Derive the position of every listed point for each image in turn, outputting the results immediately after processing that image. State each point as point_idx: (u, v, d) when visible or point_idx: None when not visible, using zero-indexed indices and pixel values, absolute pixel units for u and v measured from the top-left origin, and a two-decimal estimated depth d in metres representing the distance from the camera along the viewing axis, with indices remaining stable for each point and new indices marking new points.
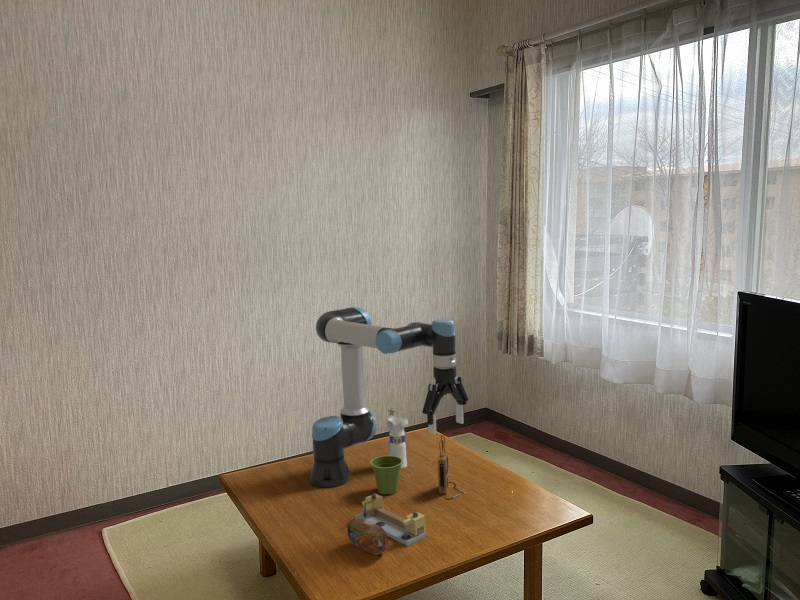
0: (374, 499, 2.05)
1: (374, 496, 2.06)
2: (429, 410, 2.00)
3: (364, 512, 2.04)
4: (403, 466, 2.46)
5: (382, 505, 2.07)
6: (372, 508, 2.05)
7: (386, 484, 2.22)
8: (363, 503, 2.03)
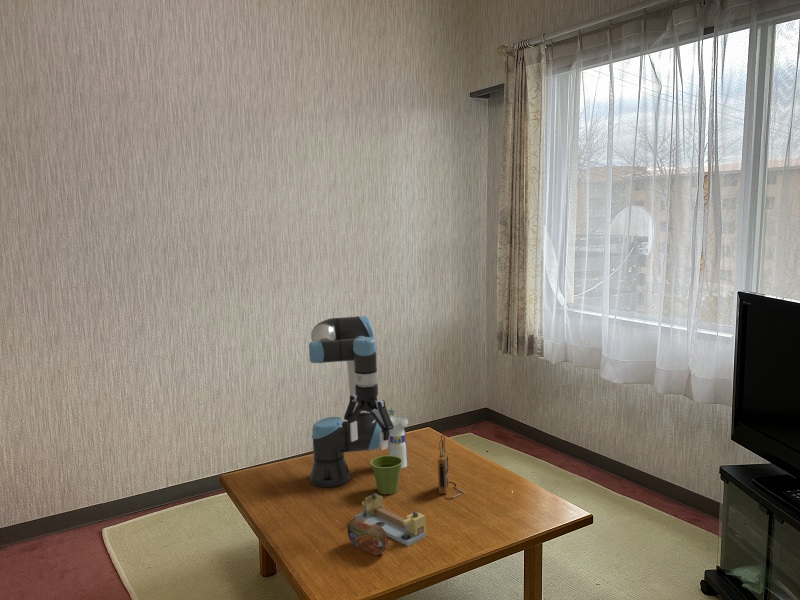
0: (374, 499, 2.05)
1: (374, 496, 2.06)
2: (345, 416, 2.14)
3: (364, 512, 2.04)
4: (403, 466, 2.46)
5: (382, 505, 2.07)
6: (372, 508, 2.05)
7: (386, 484, 2.22)
8: (363, 503, 2.03)
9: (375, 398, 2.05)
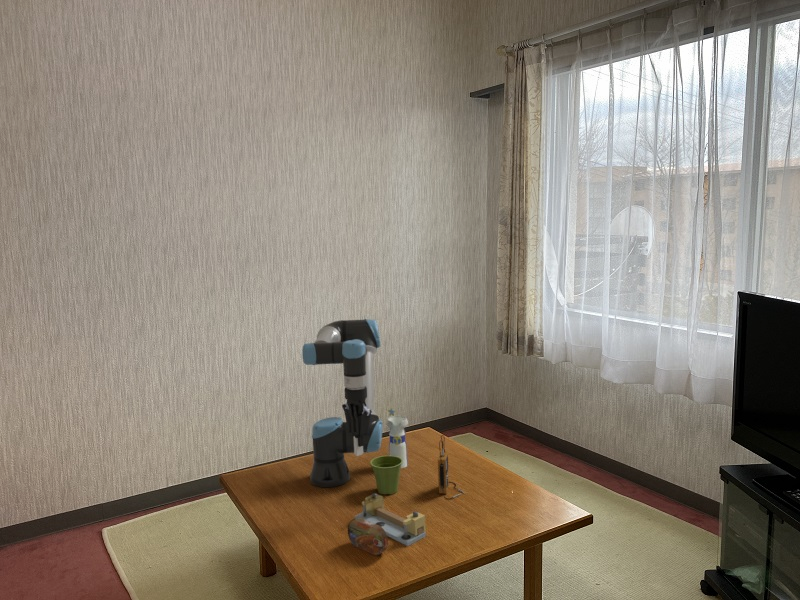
0: (374, 499, 2.05)
1: (374, 496, 2.06)
2: (348, 428, 2.10)
3: (364, 512, 2.04)
4: (403, 466, 2.46)
5: (382, 505, 2.07)
6: (372, 508, 2.05)
7: (386, 484, 2.22)
8: (363, 503, 2.03)
9: (363, 401, 2.05)
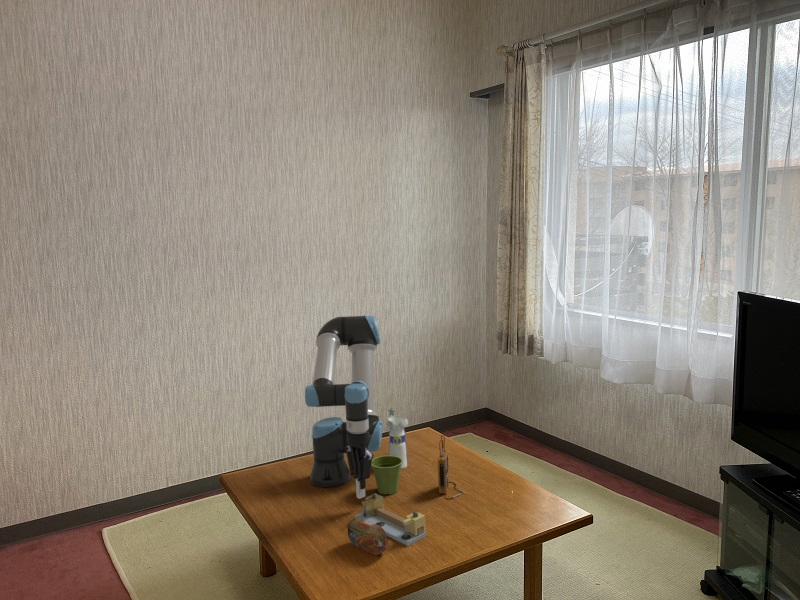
0: (374, 499, 2.05)
1: (374, 496, 2.06)
2: (350, 471, 2.12)
3: (364, 512, 2.04)
4: (403, 466, 2.46)
5: (382, 505, 2.07)
6: (372, 508, 2.05)
7: (386, 484, 2.22)
8: (363, 503, 2.03)
9: (365, 445, 2.07)
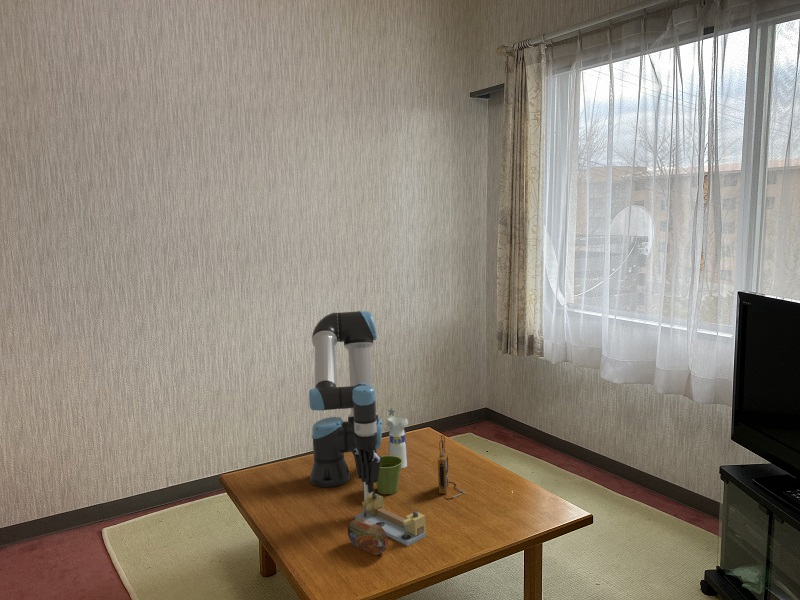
0: (374, 499, 2.05)
1: (374, 496, 2.06)
2: (358, 474, 2.09)
3: (364, 512, 2.04)
4: (403, 466, 2.46)
5: (382, 505, 2.07)
6: (372, 508, 2.04)
7: (386, 484, 2.22)
8: (363, 503, 2.03)
9: (373, 448, 2.04)
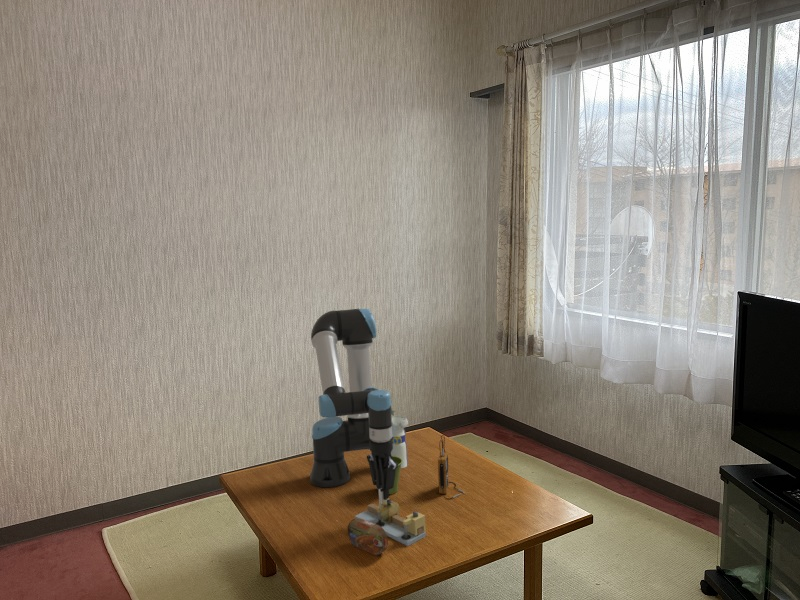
0: (389, 506, 2.00)
1: (389, 503, 2.01)
2: (373, 480, 2.04)
3: (379, 519, 1.98)
4: (403, 466, 2.46)
5: (397, 512, 2.02)
6: (387, 515, 1.99)
7: None
8: (378, 510, 1.98)
9: (389, 454, 1.98)
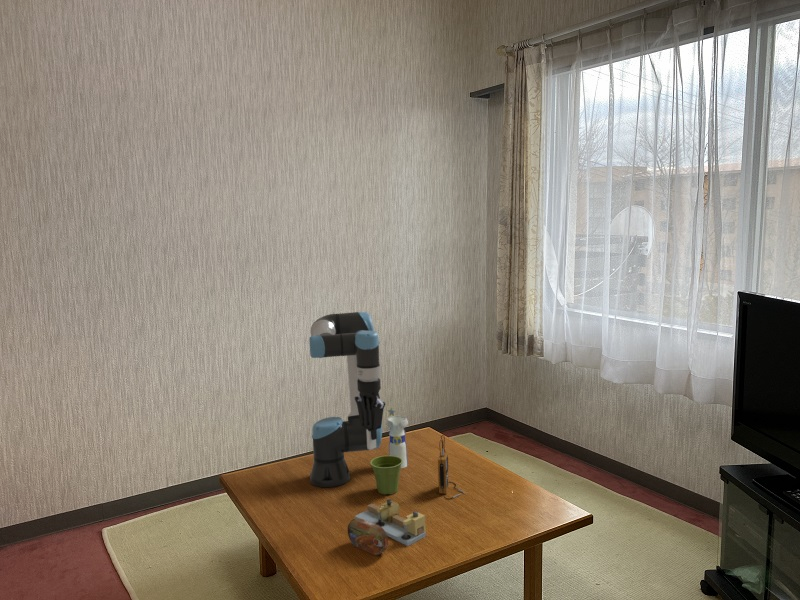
0: (389, 506, 2.00)
1: (389, 503, 2.01)
2: (361, 421, 2.05)
3: (379, 519, 1.98)
4: (403, 466, 2.46)
5: (397, 512, 2.02)
6: (387, 515, 1.99)
7: (386, 484, 2.22)
8: (378, 510, 1.98)
9: (377, 393, 1.99)
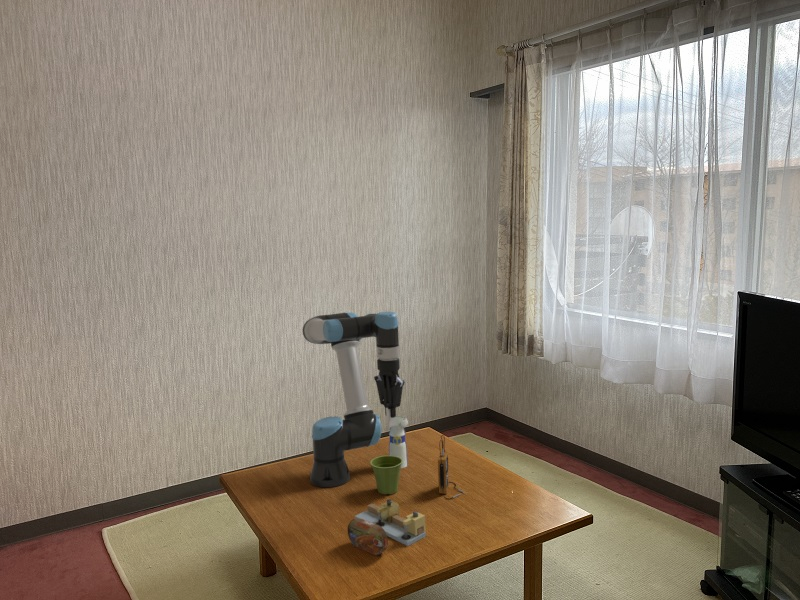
0: (389, 506, 2.00)
1: (389, 503, 2.01)
2: (380, 400, 2.12)
3: (379, 519, 1.98)
4: (403, 466, 2.46)
5: (397, 512, 2.02)
6: (387, 515, 1.99)
7: (386, 484, 2.22)
8: (378, 510, 1.98)
9: (396, 372, 2.06)
